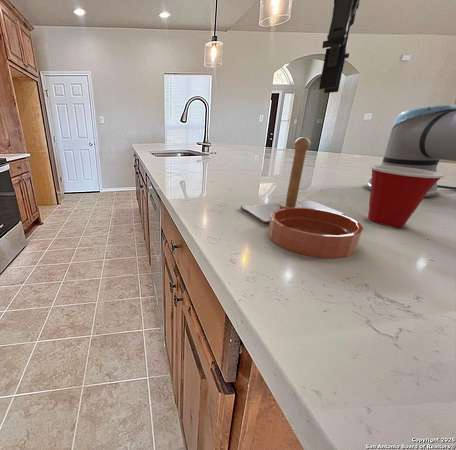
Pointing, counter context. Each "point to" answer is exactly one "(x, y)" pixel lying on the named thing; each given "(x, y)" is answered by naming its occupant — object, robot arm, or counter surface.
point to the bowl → (315, 232)
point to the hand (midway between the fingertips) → (329, 90)
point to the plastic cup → (398, 193)
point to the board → (266, 210)
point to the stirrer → (296, 173)
